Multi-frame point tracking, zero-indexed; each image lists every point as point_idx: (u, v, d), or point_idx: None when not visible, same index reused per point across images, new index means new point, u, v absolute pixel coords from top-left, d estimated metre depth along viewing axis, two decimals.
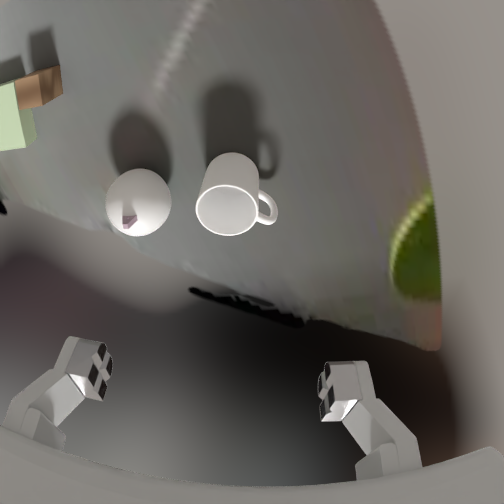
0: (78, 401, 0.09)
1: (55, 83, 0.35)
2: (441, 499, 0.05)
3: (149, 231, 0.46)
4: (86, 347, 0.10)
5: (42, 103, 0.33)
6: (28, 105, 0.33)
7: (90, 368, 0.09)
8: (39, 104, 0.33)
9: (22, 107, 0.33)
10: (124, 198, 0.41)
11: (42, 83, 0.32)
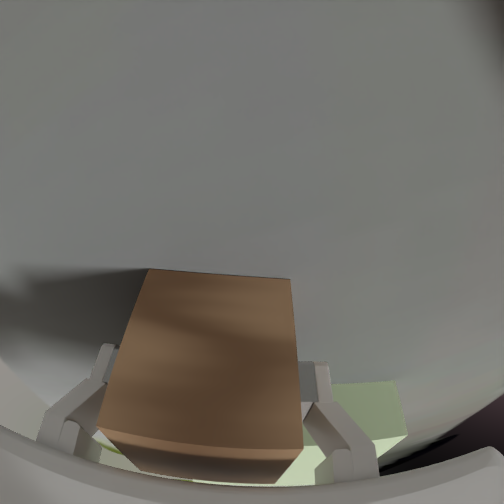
0: None
1: (218, 314, 0.09)
2: (441, 499, 0.05)
3: None
4: None
5: (290, 448, 0.06)
6: (268, 473, 0.08)
7: None
8: (288, 455, 0.07)
9: (268, 480, 0.09)
10: None
11: (168, 409, 0.07)
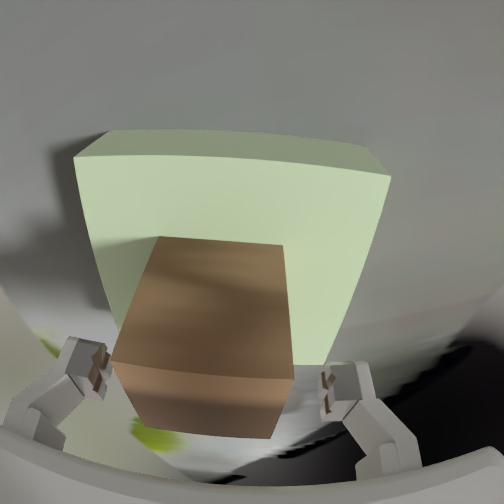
0: (78, 401, 0.09)
1: (220, 270, 0.11)
2: (441, 499, 0.05)
3: None
4: (86, 347, 0.10)
5: (282, 378, 0.08)
6: (264, 419, 0.09)
7: (90, 368, 0.09)
8: (281, 389, 0.08)
9: (264, 432, 0.10)
10: None
11: (176, 345, 0.08)
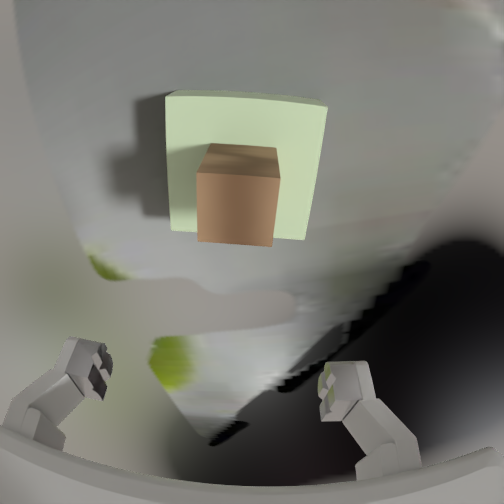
0: (78, 401, 0.09)
1: (244, 152, 0.22)
2: (441, 499, 0.05)
3: None
4: (86, 347, 0.10)
5: (275, 177, 0.18)
6: (268, 219, 0.20)
7: (90, 368, 0.09)
8: (275, 186, 0.19)
9: (268, 237, 0.21)
10: None
11: (227, 168, 0.19)
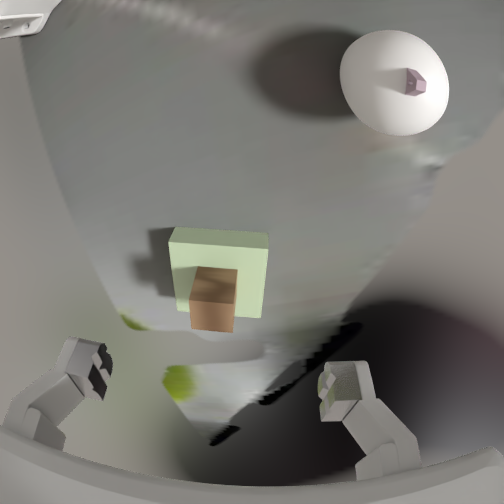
0: (78, 401, 0.09)
1: (217, 277, 0.38)
2: (441, 499, 0.05)
3: (441, 67, 0.19)
4: (86, 347, 0.10)
5: (230, 303, 0.34)
6: (228, 320, 0.36)
7: (90, 368, 0.09)
8: (230, 307, 0.35)
9: (230, 328, 0.37)
10: (373, 81, 0.20)
11: (205, 296, 0.35)
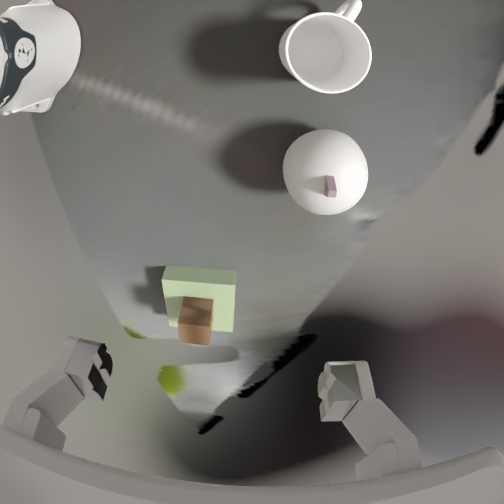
0: (78, 401, 0.09)
1: (198, 305, 0.51)
2: (441, 499, 0.05)
3: (359, 166, 0.32)
4: (86, 347, 0.10)
5: (207, 326, 0.47)
6: (206, 337, 0.49)
7: (90, 368, 0.09)
8: (207, 328, 0.48)
9: (207, 342, 0.50)
10: (301, 184, 0.33)
11: (189, 320, 0.48)
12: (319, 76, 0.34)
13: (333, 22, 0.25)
